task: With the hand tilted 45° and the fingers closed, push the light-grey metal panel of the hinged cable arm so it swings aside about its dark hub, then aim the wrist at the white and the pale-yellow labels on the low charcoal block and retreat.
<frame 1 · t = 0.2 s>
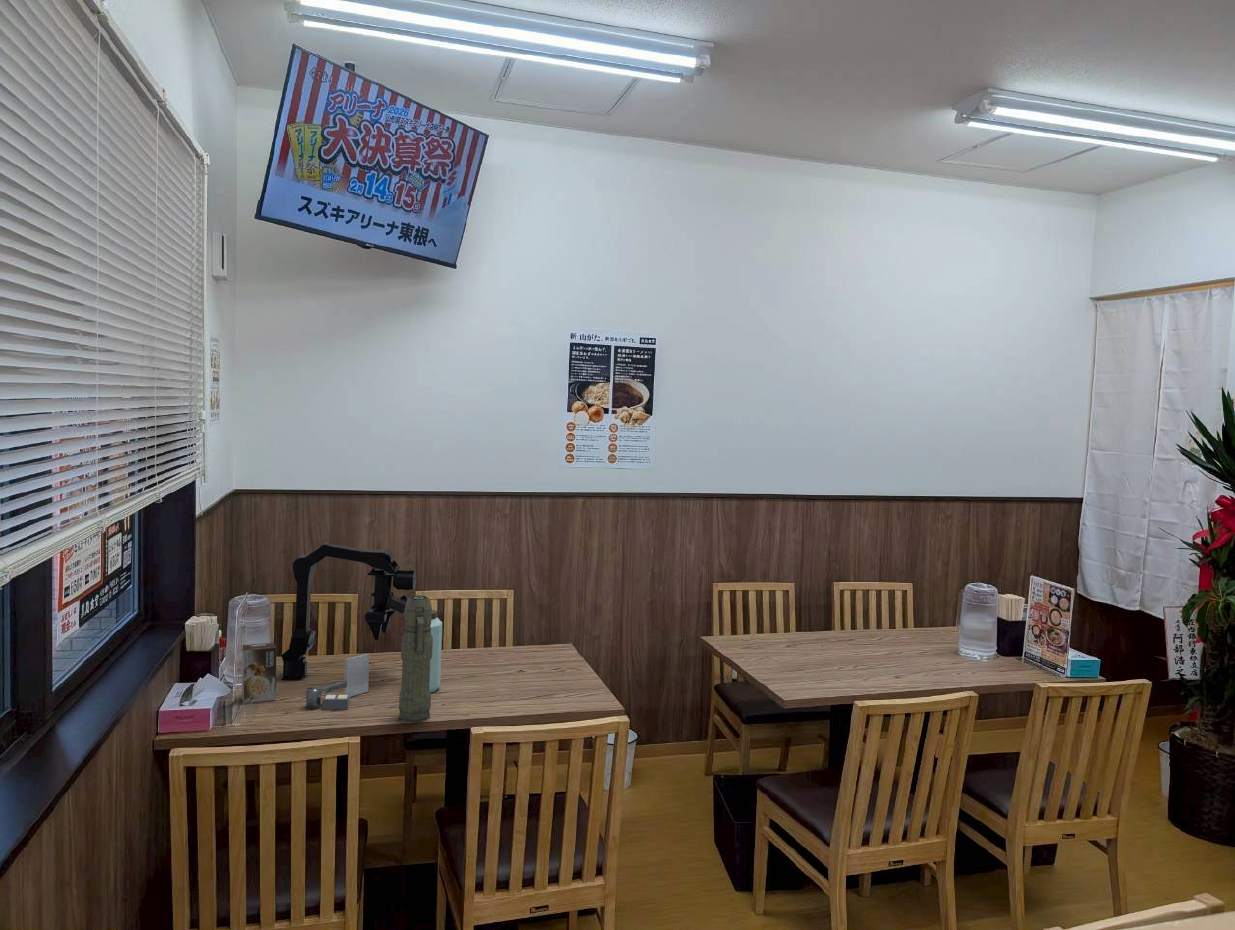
hand: (380, 636, 272), 14 cm above the table, tool pointing down, fingers open, 9 cm apart
water bottle: (424, 689, 265), on the table
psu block: (336, 707, 246), on the table
thermos: (414, 717, 242), on the table
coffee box: (258, 699, 250), on the table
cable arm: (338, 680, 251), point 6 cm above the table, hinge at 0.0°
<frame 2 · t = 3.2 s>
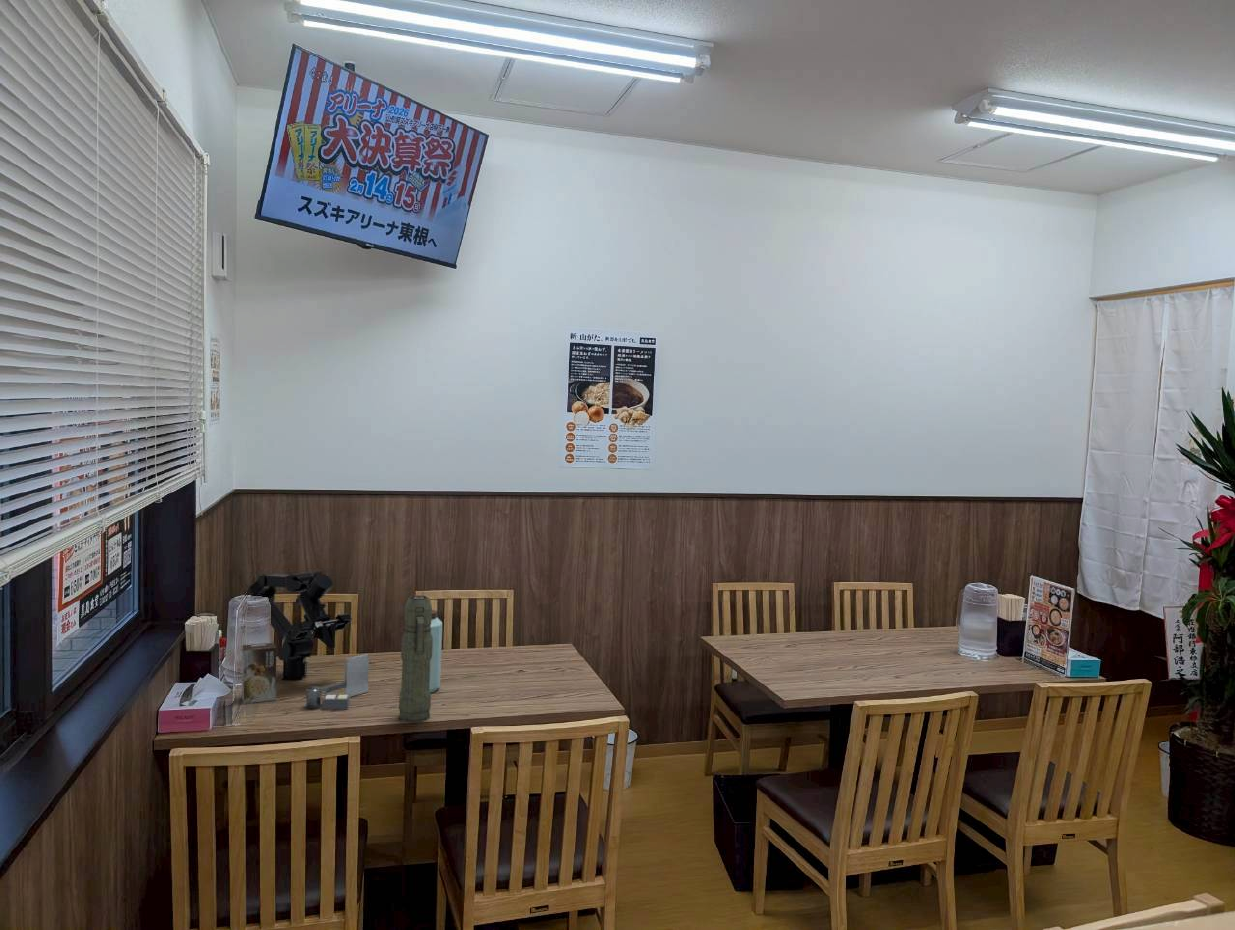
hand: (333, 648, 259), 13 cm above the table, tool tilted 45°, fingers closed
nothing on the table moved.
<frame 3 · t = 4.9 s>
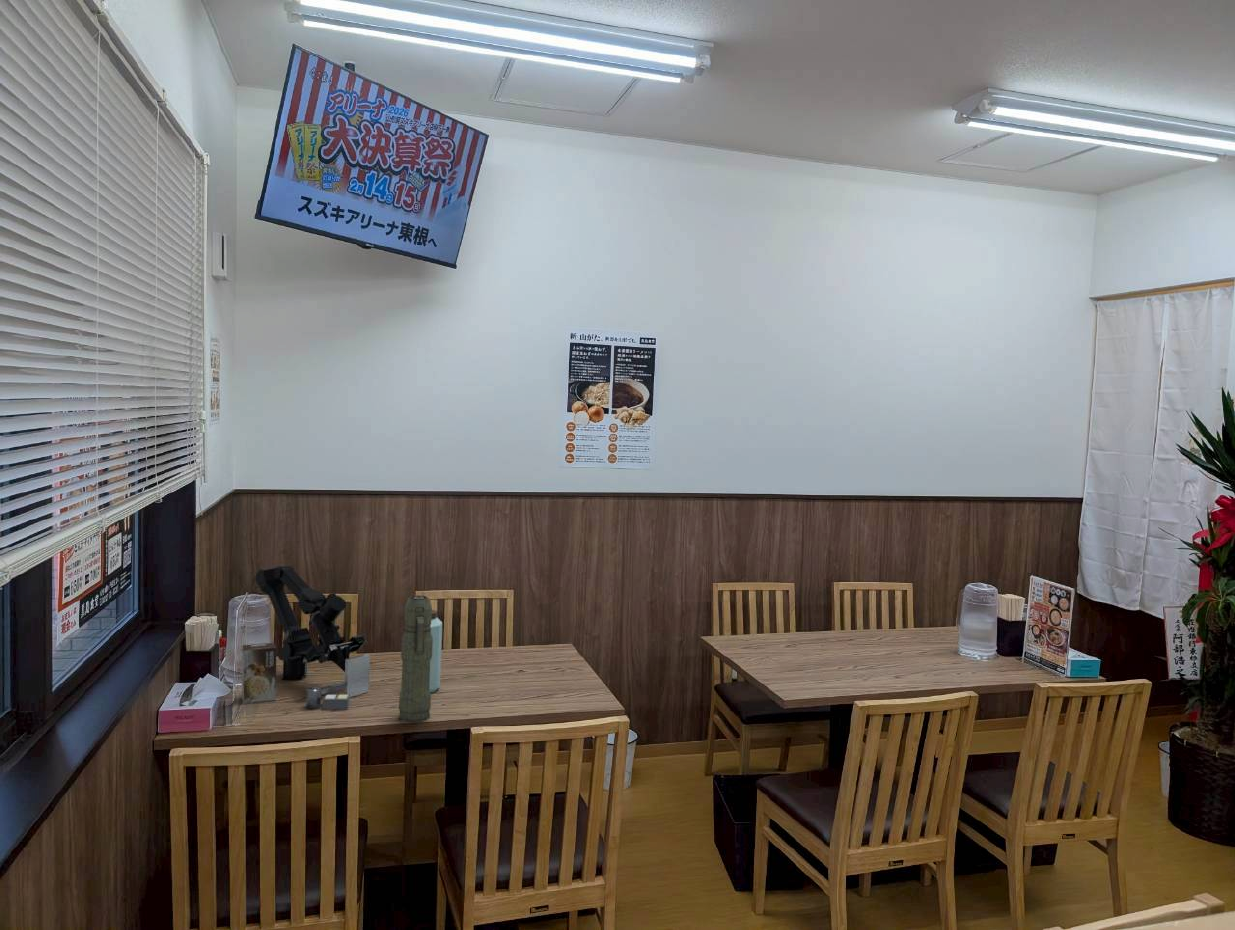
hand: (347, 671, 255), 8 cm above the table, tool tilted 45°, fingers closed, pressing on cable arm
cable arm: (338, 680, 251), point 6 cm above the table, hinge at 1.3°, touching gripper
everything else where it was.
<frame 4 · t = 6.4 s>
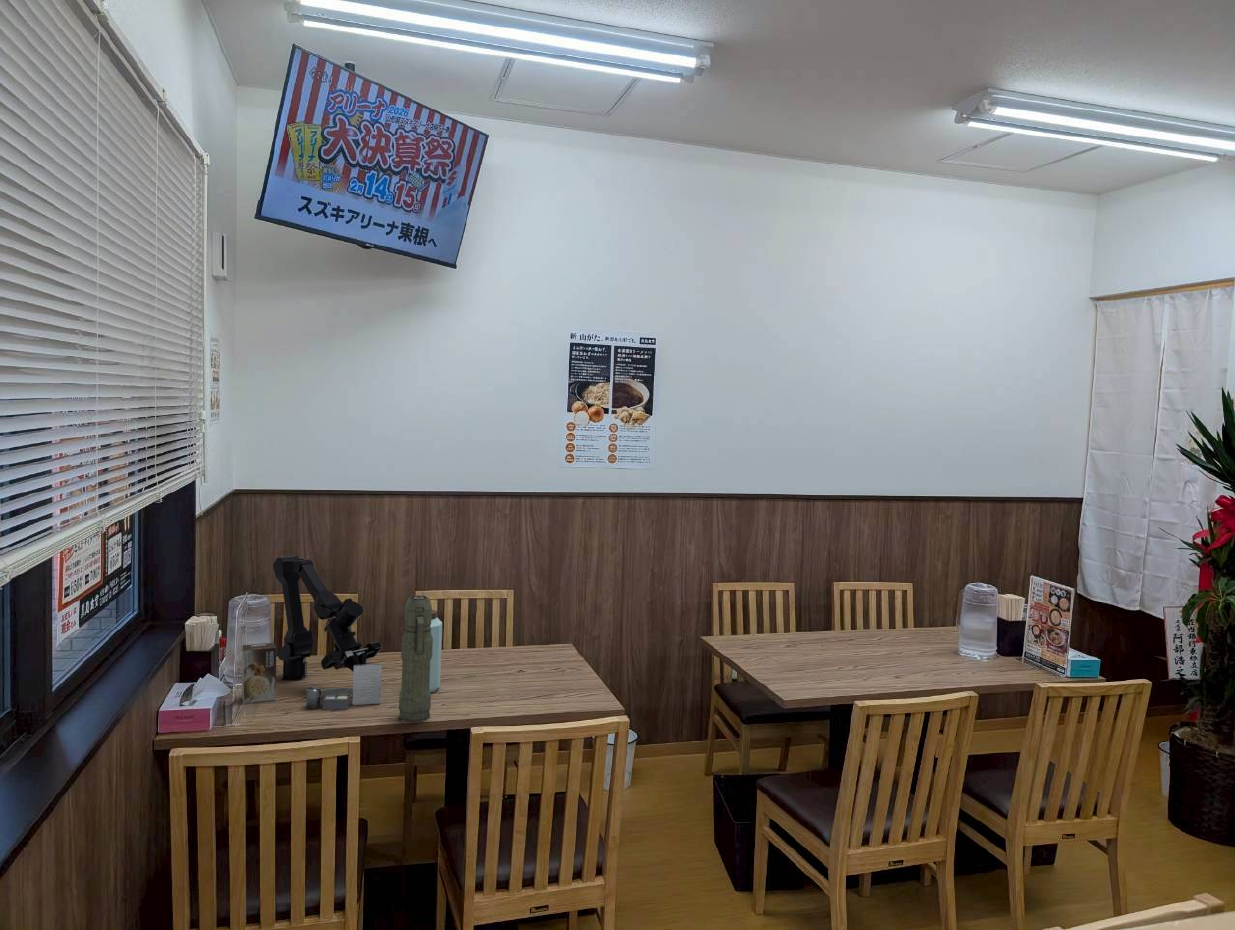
hand: (364, 678, 250), 7 cm above the table, tool tilted 45°, fingers closed
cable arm: (344, 685, 247), point 6 cm above the table, hinge at 36.5°, touching gripper
everything else where it was.
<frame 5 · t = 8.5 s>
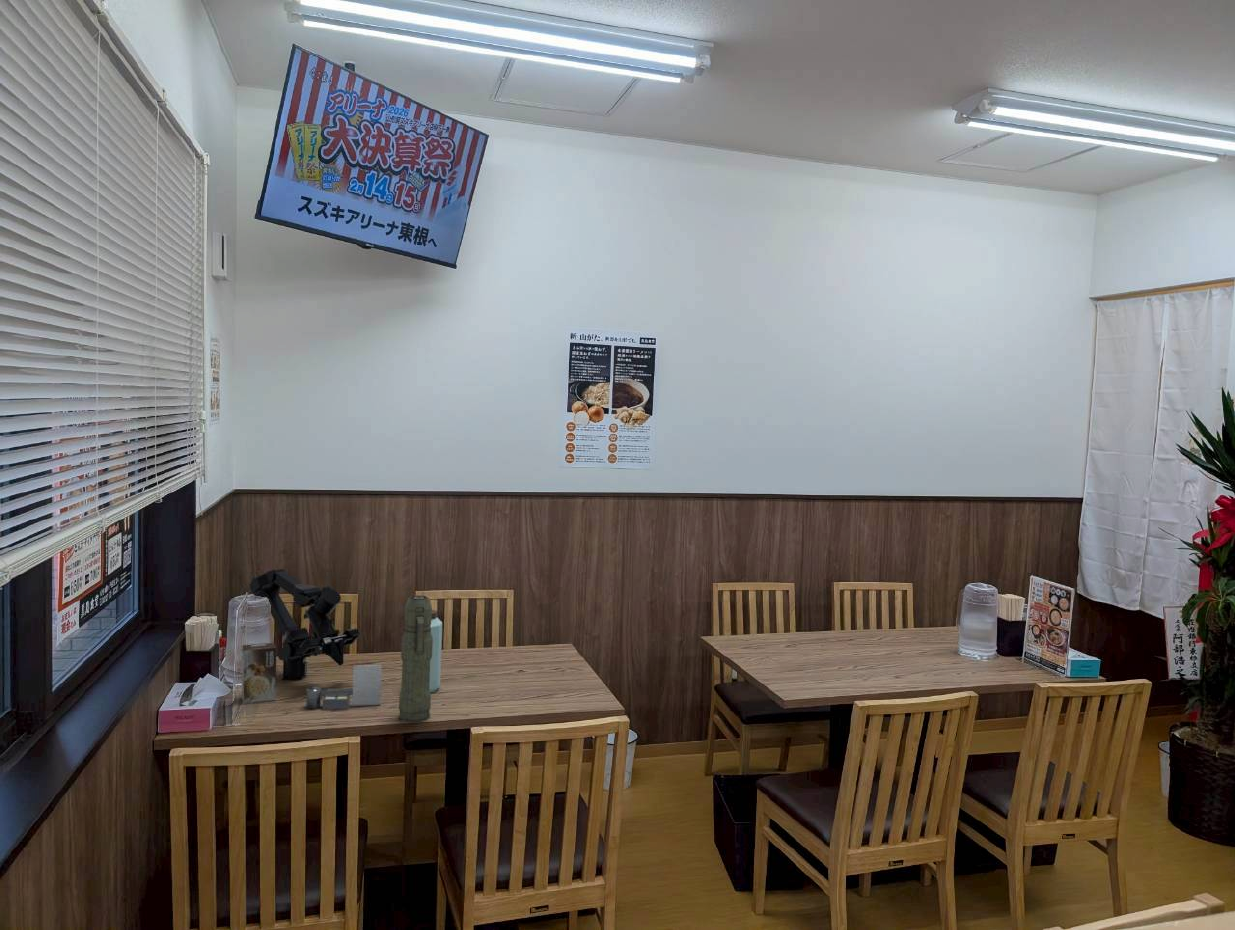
hand: (341, 664, 256), 9 cm above the table, tool tilted 45°, fingers closed
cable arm: (344, 686, 247), point 6 cm above the table, hinge at 39.8°
everything else where it was.
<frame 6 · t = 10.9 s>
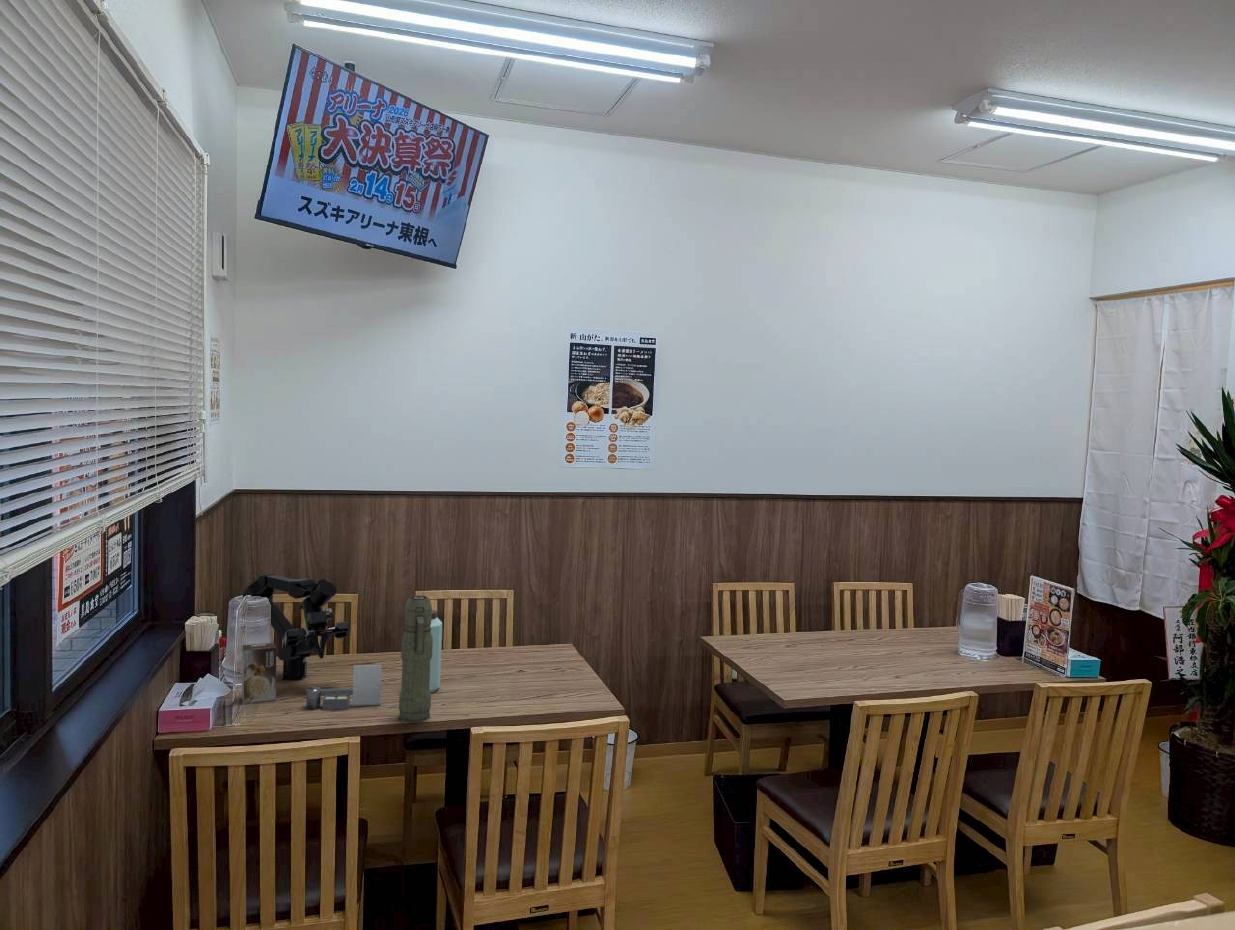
hand: (322, 657, 255), 11 cm above the table, tool tilted 45°, fingers closed
nothing on the table moved.
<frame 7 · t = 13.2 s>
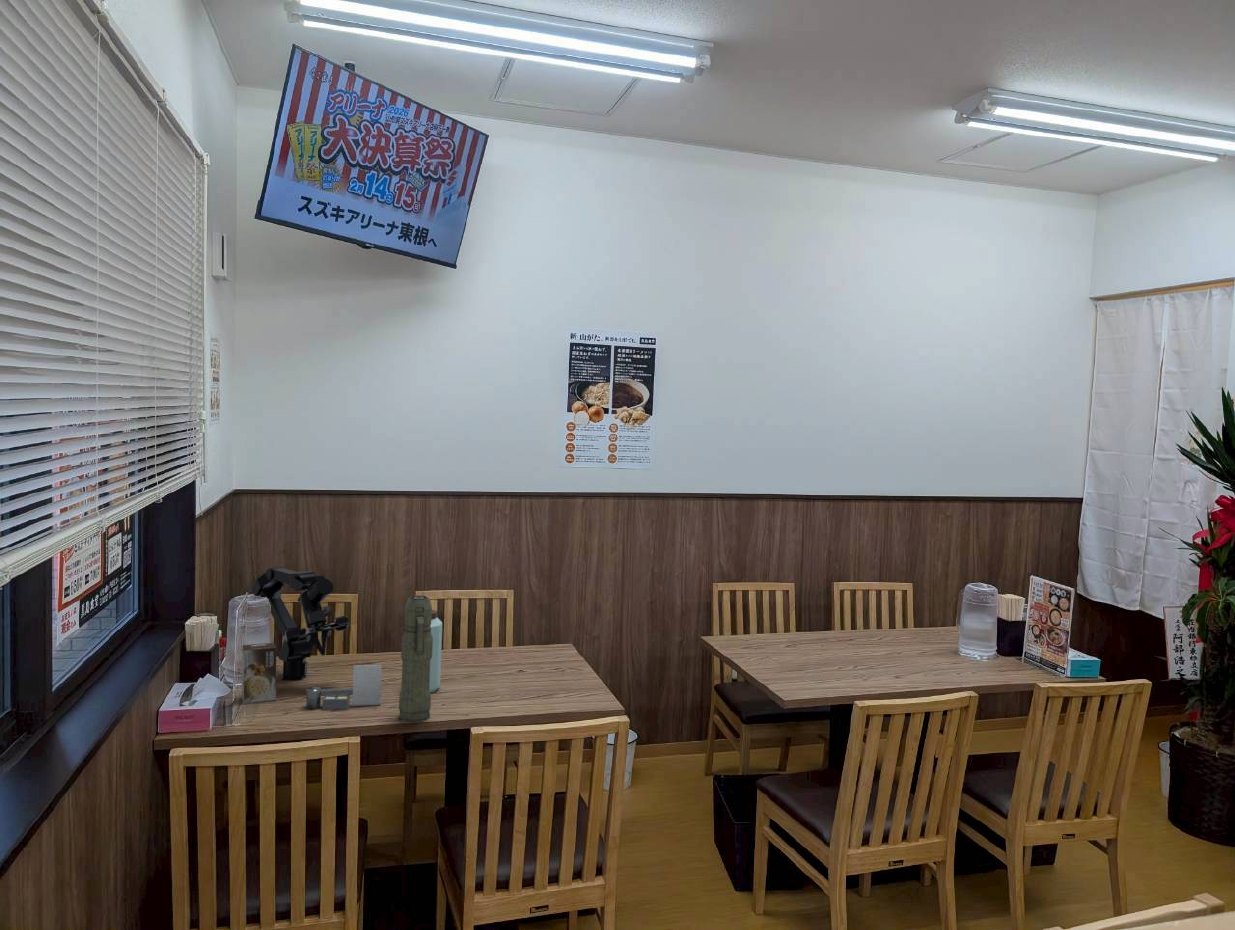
hand: (323, 655, 257), 12 cm above the table, tool tilted 35°, fingers closed
nothing on the table moved.
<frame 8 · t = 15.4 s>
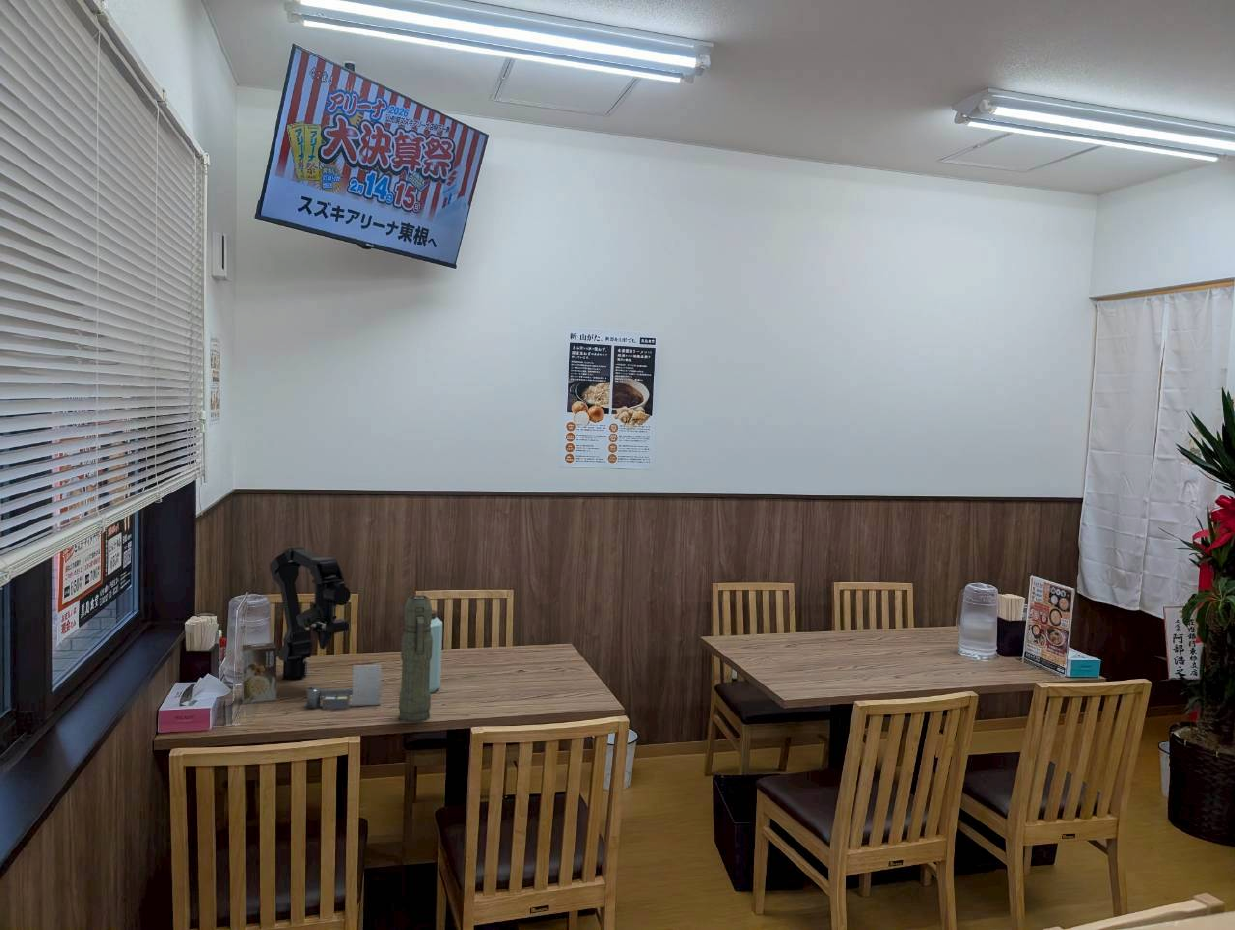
hand: (322, 649, 259), 13 cm above the table, tool pointing down, fingers closed
nothing on the table moved.
at the end: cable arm at +40° (first picture: +0°) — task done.
